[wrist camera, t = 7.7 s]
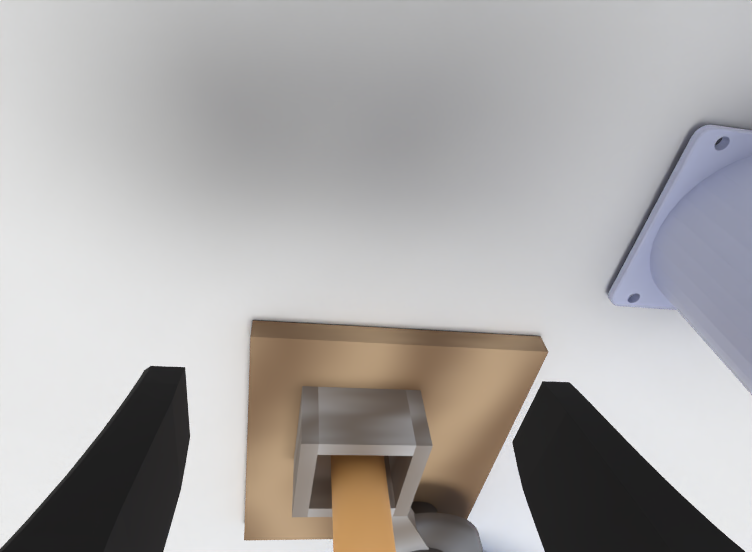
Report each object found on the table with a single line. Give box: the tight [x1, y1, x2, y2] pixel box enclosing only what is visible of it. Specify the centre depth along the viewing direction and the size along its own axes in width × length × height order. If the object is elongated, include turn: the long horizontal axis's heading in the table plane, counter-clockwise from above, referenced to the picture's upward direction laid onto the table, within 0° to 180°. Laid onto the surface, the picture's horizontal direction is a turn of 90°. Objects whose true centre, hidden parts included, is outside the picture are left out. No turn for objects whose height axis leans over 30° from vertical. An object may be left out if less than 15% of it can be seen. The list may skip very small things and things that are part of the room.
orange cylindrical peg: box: [330, 455, 396, 552], centre depth 22 cm, size 2×2×7 cm
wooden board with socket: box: [244, 320, 548, 552], centre depth 25 cm, size 13×17×6 cm
